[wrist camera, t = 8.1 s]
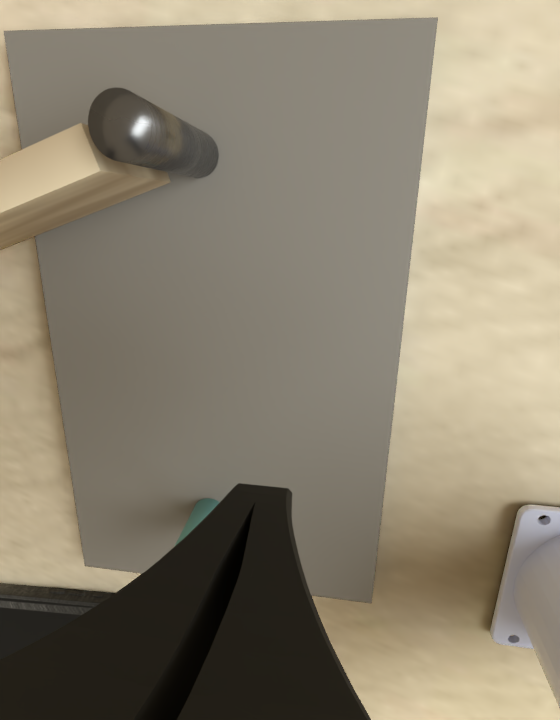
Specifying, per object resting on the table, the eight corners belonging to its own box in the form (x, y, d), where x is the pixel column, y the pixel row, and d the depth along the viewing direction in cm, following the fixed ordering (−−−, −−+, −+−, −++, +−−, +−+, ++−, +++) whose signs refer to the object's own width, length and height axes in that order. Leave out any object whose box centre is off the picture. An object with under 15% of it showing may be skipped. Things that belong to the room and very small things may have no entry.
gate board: (432, 29, 15) (437, 17, 14) (370, 587, 23) (371, 603, 22) (22, 40, 17) (3, 30, 16) (94, 552, 25) (84, 566, 24)
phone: (150, 705, 27) (-67, 679, 29) (158, 686, 28) (-53, 662, 30) (131, 604, 24) (-105, 583, 27) (140, 588, 26) (-88, 569, 28)
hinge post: (225, 134, 17) (148, 87, 10) (226, 180, 17) (153, 162, 11) (184, 134, 17) (84, 88, 11) (186, 179, 18) (91, 161, 11)
